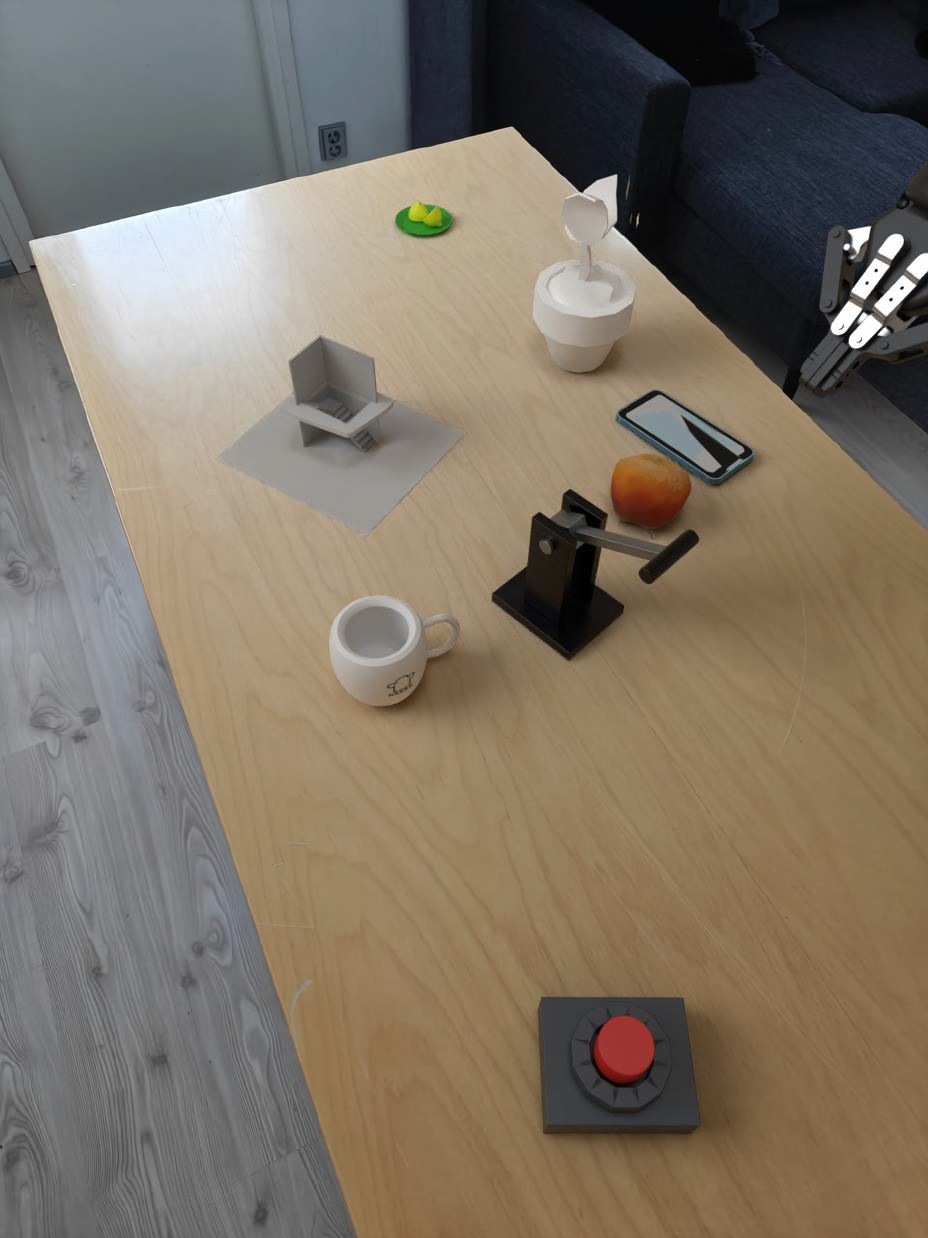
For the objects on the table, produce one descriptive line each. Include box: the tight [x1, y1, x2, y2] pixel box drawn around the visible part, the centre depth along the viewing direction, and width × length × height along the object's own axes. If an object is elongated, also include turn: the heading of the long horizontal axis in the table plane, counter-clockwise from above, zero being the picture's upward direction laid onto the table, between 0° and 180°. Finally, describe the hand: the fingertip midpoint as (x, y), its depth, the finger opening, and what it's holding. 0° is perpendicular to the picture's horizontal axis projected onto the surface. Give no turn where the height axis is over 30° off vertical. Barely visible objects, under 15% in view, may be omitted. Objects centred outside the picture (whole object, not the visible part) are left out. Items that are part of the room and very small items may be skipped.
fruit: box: [610, 453, 692, 540], centre depth 95 cm, size 8×8×8 cm
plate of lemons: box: [394, 200, 453, 236], centre depth 130 cm, size 8×8×3 cm
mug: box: [328, 594, 461, 707], centre depth 82 cm, size 12×8×8 cm
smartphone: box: [615, 388, 756, 485], centre depth 104 cm, size 7×1×15 cm
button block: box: [537, 996, 702, 1135], centre depth 63 cm, size 10×8×5 cm
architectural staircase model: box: [214, 334, 467, 537], centre depth 98 cm, size 19×21×12 cm
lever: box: [549, 509, 700, 585], centre depth 77 cm, size 13×6×2 cm, turn 45°
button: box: [594, 1016, 655, 1084], centre depth 60 cm, size 4×4×3 cm
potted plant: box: [532, 173, 640, 374], centre depth 103 cm, size 13×12×25 cm
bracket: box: [491, 488, 626, 661], centre depth 84 cm, size 10×8×13 cm
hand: (810, 390), depth 65 cm, fingers closed
